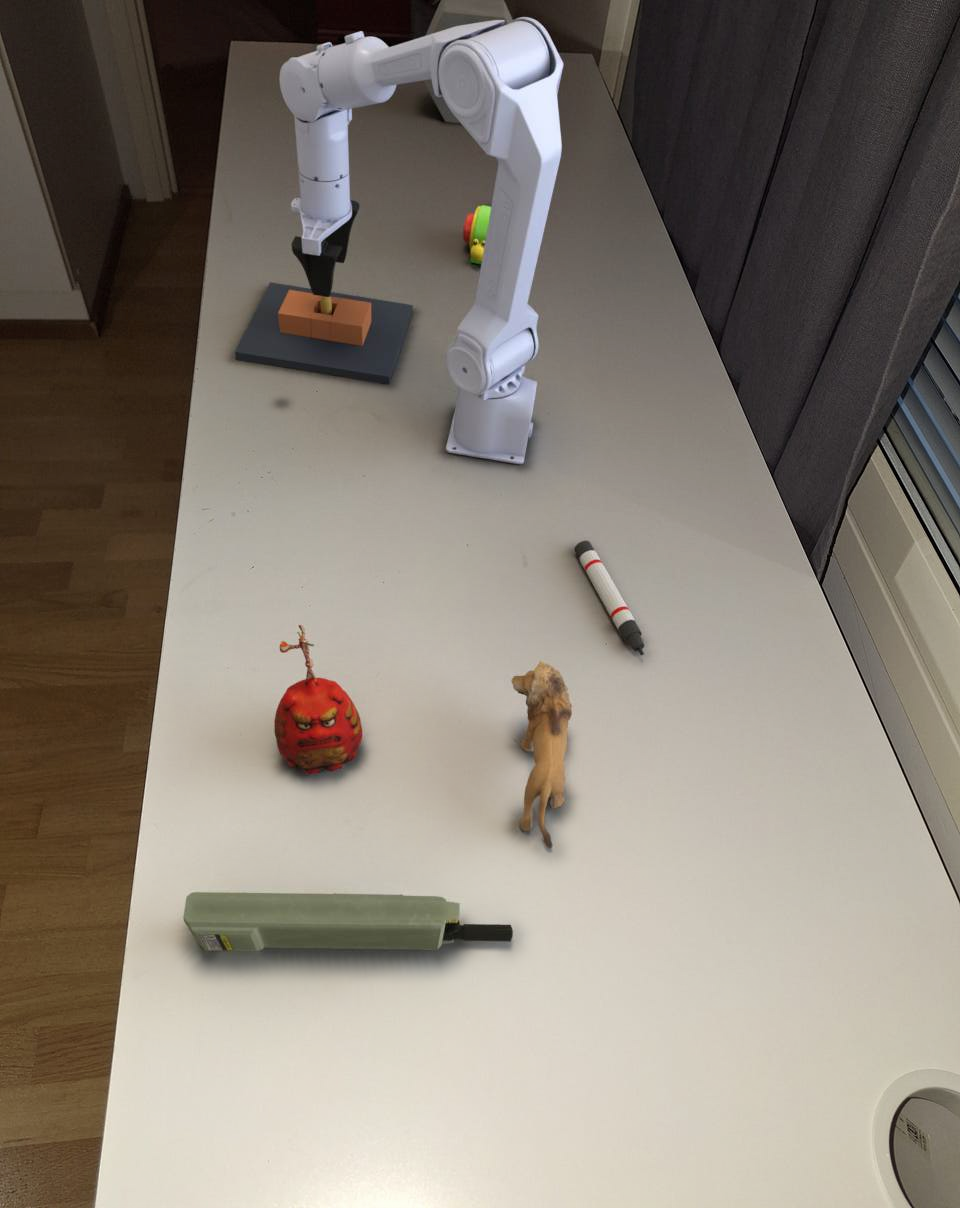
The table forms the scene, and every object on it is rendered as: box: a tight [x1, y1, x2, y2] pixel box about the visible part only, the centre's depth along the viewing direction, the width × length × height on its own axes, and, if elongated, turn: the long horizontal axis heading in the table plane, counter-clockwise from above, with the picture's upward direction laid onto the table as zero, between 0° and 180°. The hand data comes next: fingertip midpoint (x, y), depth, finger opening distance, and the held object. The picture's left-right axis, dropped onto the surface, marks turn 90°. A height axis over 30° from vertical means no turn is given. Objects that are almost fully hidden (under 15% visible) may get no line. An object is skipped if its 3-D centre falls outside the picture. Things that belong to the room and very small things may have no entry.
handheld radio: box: [182, 891, 514, 952], centre depth 70 cm, size 7×3×25 cm
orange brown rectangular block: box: [278, 290, 371, 346], centre depth 118 cm, size 11×5×3 cm, turn 82°
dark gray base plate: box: [234, 282, 414, 385], centre depth 118 cm, size 20×16×6 cm
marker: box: [573, 540, 645, 656], centre depth 95 cm, size 15×2×2 cm, turn 20°
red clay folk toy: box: [274, 624, 363, 776], centre depth 77 cm, size 8×7×15 cm
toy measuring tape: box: [462, 205, 491, 265], centre depth 136 cm, size 6×19×7 cm, turn 166°
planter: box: [422, 0, 514, 125], centre depth 156 cm, size 17×8×21 cm
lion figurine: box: [510, 660, 573, 849], centre depth 80 cm, size 15×5×9 cm, turn 6°
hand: (329, 277), depth 113 cm, fingers open, 7 cm apart
